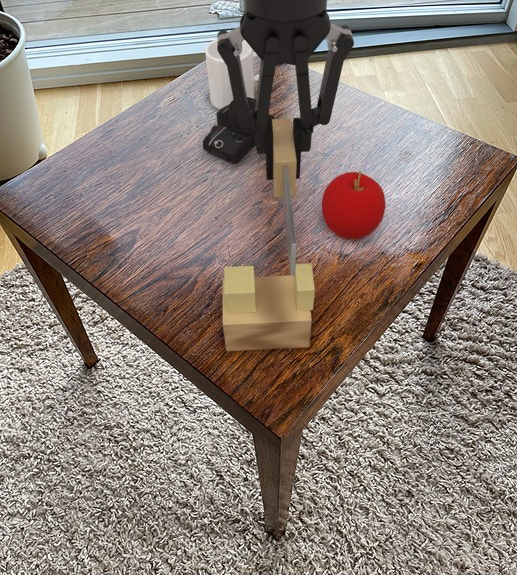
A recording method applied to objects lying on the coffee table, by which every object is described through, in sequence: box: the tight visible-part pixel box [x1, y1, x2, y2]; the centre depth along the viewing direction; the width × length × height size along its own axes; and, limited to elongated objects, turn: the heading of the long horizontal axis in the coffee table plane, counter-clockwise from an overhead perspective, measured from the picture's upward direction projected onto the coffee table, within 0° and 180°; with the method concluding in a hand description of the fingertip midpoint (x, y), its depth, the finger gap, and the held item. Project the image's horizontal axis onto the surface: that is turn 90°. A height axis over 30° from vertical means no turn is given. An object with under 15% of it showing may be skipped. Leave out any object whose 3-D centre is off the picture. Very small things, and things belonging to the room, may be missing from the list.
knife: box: [272, 118, 297, 276], centre depth 62 cm, size 20×2×5 cm, turn 2°
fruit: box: [321, 170, 386, 240], centre depth 81 cm, size 9×9×10 cm
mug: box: [204, 38, 259, 110], centre depth 102 cm, size 8×12×10 cm
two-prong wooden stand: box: [222, 274, 313, 352], centre depth 72 cm, size 10×7×6 cm, turn 92°
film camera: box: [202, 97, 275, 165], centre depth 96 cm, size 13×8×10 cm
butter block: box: [223, 265, 256, 314], centre depth 68 cm, size 4×4×4 cm
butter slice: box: [294, 263, 316, 311], centre depth 68 cm, size 2×4×4 cm, turn 2°
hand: (282, 171), depth 68 cm, fingers closed on knife, 2 cm apart
